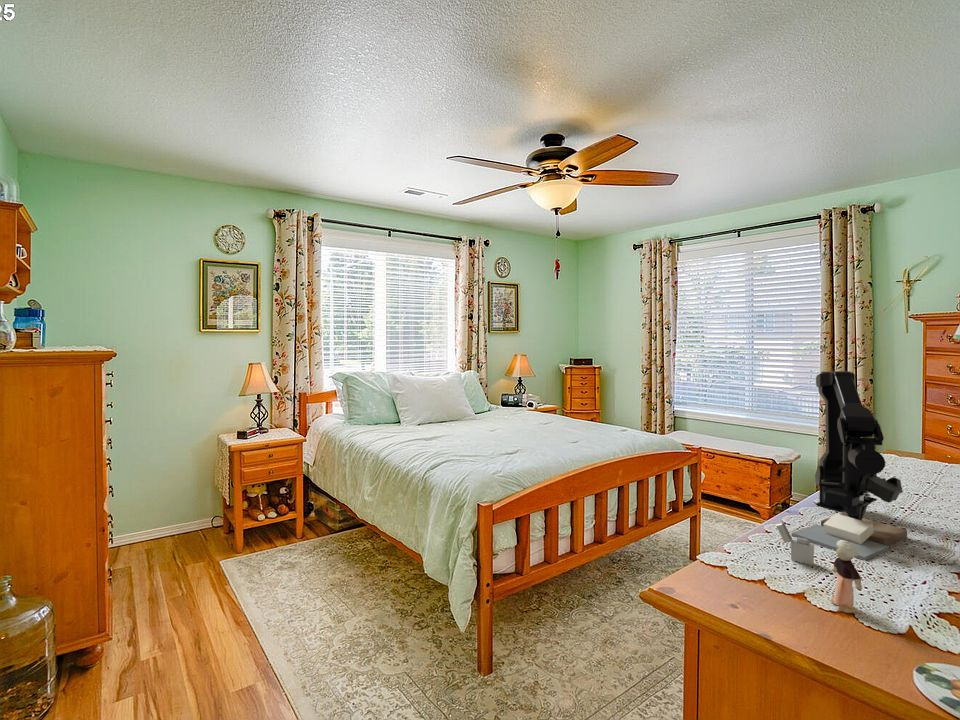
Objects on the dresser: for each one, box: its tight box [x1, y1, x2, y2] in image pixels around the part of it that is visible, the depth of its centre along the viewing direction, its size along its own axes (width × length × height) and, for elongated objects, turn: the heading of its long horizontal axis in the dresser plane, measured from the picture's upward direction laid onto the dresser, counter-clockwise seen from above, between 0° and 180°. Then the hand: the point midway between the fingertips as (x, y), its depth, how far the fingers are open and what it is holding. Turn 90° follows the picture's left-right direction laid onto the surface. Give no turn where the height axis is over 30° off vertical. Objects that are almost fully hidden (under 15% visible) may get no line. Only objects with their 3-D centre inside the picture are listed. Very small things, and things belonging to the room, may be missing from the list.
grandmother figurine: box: [830, 540, 863, 614], centre depth 92 cm, size 8×4×13 cm, turn 5°
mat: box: [791, 523, 890, 561], centre depth 120 cm, size 16×11×1 cm
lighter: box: [775, 521, 815, 566], centre depth 111 cm, size 7×2×8 cm, turn 47°
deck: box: [820, 512, 908, 547], centre depth 125 cm, size 14×11×2 cm
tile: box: [823, 513, 874, 544], centre depth 122 cm, size 8×6×2 cm
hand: (856, 525), depth 123 cm, fingers closed
